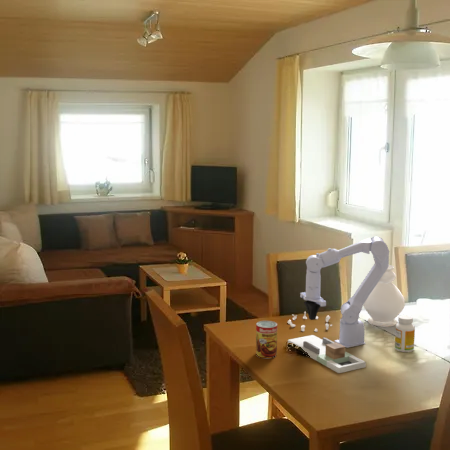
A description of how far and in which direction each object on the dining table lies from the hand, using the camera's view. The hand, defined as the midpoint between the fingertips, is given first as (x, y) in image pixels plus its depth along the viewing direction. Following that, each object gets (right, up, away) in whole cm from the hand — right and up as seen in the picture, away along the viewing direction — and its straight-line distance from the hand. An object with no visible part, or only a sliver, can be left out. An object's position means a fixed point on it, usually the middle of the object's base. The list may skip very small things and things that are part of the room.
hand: (312, 319), depth 250 cm
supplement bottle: (+35, -11, -6) cm, 37 cm away
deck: (+3, -12, -12) cm, 17 cm away
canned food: (-19, -12, -12) cm, 25 cm away
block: (+6, -11, -18) cm, 22 cm away
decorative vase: (+34, -5, +26) cm, 43 cm away
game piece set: (+2, -6, +23) cm, 24 cm away
